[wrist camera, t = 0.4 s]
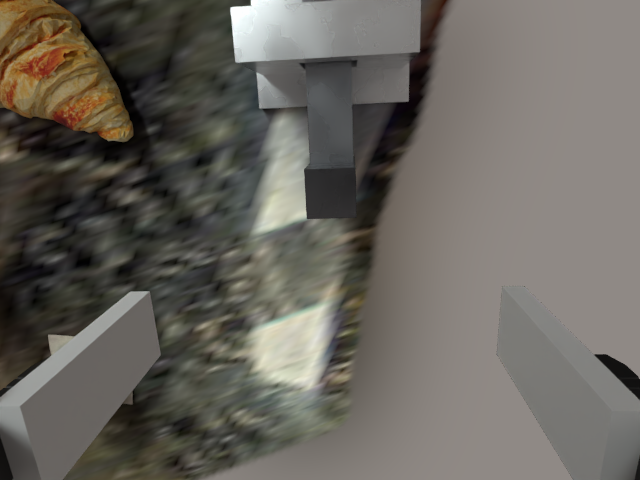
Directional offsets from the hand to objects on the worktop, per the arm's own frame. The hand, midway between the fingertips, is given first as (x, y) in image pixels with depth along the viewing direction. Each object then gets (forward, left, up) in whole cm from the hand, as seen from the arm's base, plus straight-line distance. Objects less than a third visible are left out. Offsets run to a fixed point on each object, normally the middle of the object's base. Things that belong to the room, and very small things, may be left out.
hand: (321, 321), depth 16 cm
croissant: (-13, -25, -23) cm, 36 cm away
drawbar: (-12, 0, -20) cm, 24 cm away
